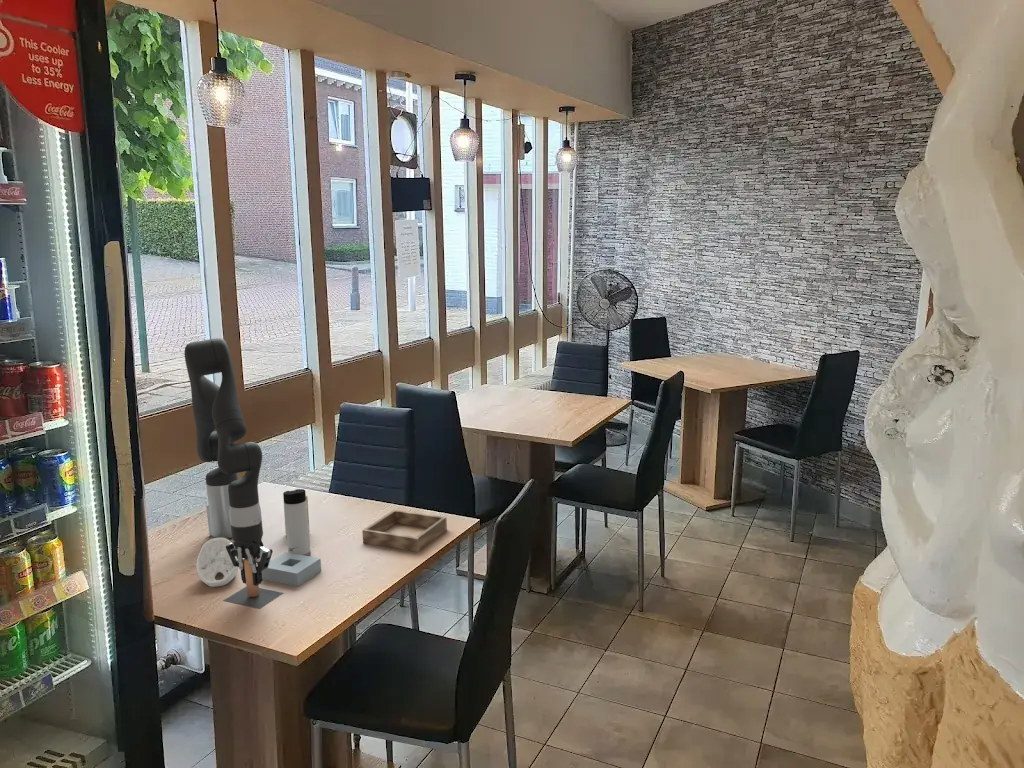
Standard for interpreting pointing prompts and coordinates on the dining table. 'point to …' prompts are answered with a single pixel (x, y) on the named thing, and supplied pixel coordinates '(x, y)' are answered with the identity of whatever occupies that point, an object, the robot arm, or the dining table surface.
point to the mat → (253, 598)
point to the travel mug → (297, 522)
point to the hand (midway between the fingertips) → (252, 582)
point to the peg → (250, 580)
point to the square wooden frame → (378, 537)
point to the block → (292, 569)
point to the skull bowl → (215, 562)
